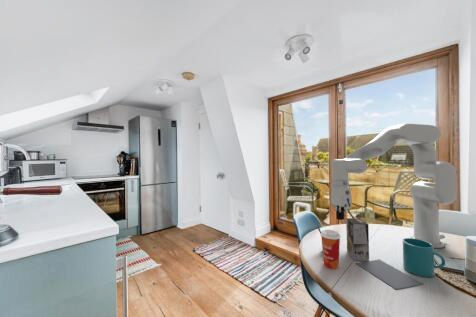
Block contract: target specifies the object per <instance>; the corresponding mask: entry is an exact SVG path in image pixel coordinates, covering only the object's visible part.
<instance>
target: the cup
mask: <svg viewBox="0 0 476 317" xmlns="http://www.w3.org/2000/svg"><path fill="white" fill-rule="evenodd" d="M435 256H437V257H439V258H440V259H441V263H440V264H435ZM402 260H403V262H402V265H403V268H404V270H406V271H407V272H409V273H410V274H412V275H416V276H419V277H423V278H432V277H434V276H435V269H442V268H443V267H445V266H446V259H445V258H444V256H443V255H442V254H440V253H438V252H437V251H435V248H434V246H433V245H432V244H431V243H429V242H426V241H423V240H419V239H414V238H410V237H406V238H403V239H402Z"/></svg>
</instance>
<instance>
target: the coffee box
mask: <svg viewBox="0 0 476 317" xmlns="http://www.w3.org/2000/svg"><path fill="white" fill-rule="evenodd" d="M345 219H346V220H345V221H346V224H345V227H346V250H347V253H348V254H349V256H350V257H351V258H352V259H353V261H360V262H366V261H370V242H369V241H370V240H369V234H370V232H369V223H367V222H365V221H364V220H363V219H361V218H359V217H356V218H355V217H353V218H349V217H346V218H345Z"/></svg>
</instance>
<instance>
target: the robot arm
mask: <svg viewBox="0 0 476 317" xmlns="http://www.w3.org/2000/svg"><path fill="white" fill-rule="evenodd" d="M441 137H442V132H441V130H440V128H439V127H438V126H436V125H433V124H421V123H420V124H419V123H403V124H397V125H393V126H389V127H387V128H386V129H384V130H383V131H382V132H380V133H379V134H378V135H377V136H376V137H374V138H373V139H371V141H369V142H368V143H366V144H364V145H363V146H360V147H359V148H357V149H355V150H354V151H352V152H350V153H349V154H348V155H347V156H346V157H344V158H340V159H339V158H335V159H333V160H332V161H331V188H330V203H331V205H332V206H333V207H334V209H335V211H336V220H338V221H343V220H345V212H346V211H349V210H350V207H352V206H353V201H352V192H351V188H350V185H349V184H350V183H349V180H350V179H349V174H357V175H358V174H359V175H360V174H362V173H363V174H364V173H365V172H366V171H367V169H368V163H367V162H366V161H368V160H370V159H375V158H377V157H381V156H383V155H385V153H386V152H388V151H389V150H390V149H392V148H393V147H394V146H395V145H396V144H398V143H401V142H403V143H404V144H406V145H407V146H408V147H409V148H410V149H411V150H412V153H413V173H414V176H415V177H417V178H418V179H423V180H428V181H417V182H414V183H412V185H411V186H410V189H409V190H410V194H411V199H412V206H413V207H412V208H413V235H412V236H410V237H409V238H414V239H419V240H423V241H426V242H429V243H431V244H432V245H433V246H434V249H442V248H444V247H445V243H444V242H442V241H441V240H442V239H443V240H444V239H446V236H445V235H444V234H440V210H439V207H438V205H437V204H441V205H451V204H453V203H454V202H455V201H456V199H457V196H458V192H457V191H458V183H457V182H458V181H457V180H458V177H457V176H458V174H457V170H456V167H455V166H454V165H453V164H452V163H450V162H448V161H446V160H445V161H444V160H437V159H438V158H437V151H436V148H435V146H434V145H433V143H436V142H437V141H439V140H440V139H441ZM431 181H433V182H431Z"/></svg>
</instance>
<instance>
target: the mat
mask: <svg viewBox="0 0 476 317" xmlns="http://www.w3.org/2000/svg"><path fill="white" fill-rule="evenodd" d="M355 264H356V265H357V266H358V267H361V268H362V269H363V270H365V271H367V272H368V273H370V274H371V275H372V276H374V277H376V278H377V279H379V280H381V281H382V282H383V283H385V284H386V285H388V286H390V287H391V288H392V289H394V290H402V289H407V288H412V287H417V286H422V285H424V282H421V281H420V280H418V279H416V278H414V277H413V276H411V275H409V274H407V273H405V272H403V271H401V270H400V269H398V268H396V267H394V266H392V265H390V264H388V263H386V262H385V261H383V260H382V259H373V260H369V261H360V262H356V263H355Z"/></svg>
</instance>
